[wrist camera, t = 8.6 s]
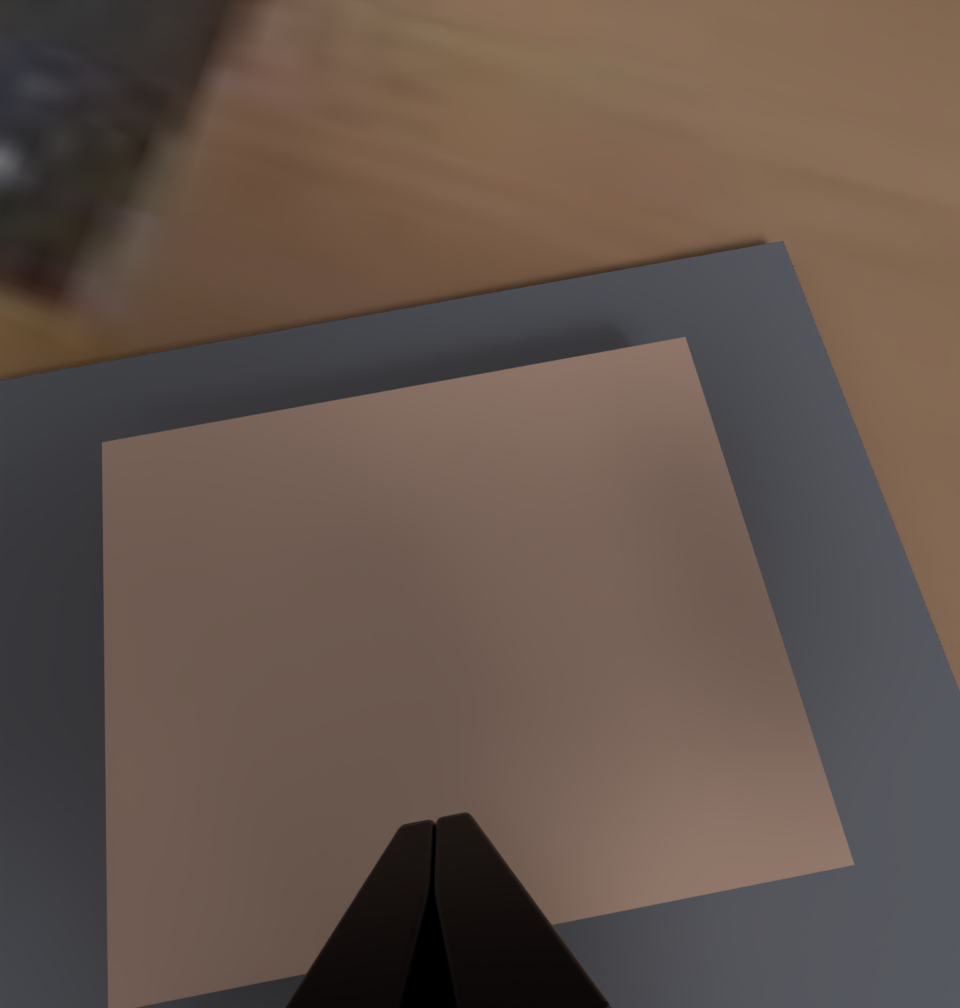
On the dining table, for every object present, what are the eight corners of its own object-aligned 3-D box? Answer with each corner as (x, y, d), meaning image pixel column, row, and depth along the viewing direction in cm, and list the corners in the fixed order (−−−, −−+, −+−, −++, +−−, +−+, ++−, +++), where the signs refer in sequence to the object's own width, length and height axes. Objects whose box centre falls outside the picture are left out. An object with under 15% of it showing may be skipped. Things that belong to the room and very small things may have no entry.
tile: (854, 864, 13) (685, 336, 16) (108, 1012, 12) (101, 442, 16) (803, 854, 15) (664, 393, 18) (170, 979, 15) (153, 486, 18)
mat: (1204, 1373, 13) (1237, 1401, 12) (-52, 1647, 12) (-80, 1688, 11) (775, 256, 20) (782, 240, 20) (0, 394, 20) (-15, 383, 19)
